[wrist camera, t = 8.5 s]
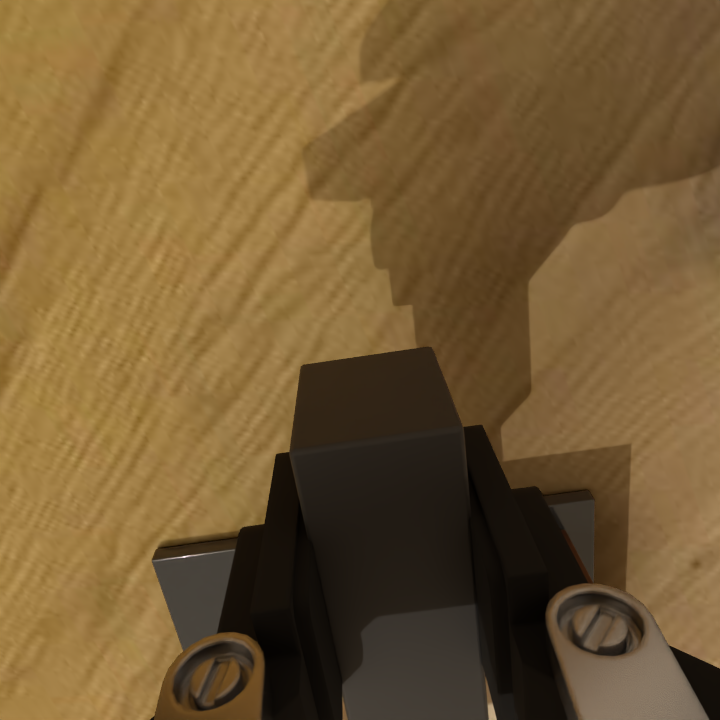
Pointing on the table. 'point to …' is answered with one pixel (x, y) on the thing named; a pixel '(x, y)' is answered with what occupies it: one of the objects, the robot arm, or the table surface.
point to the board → (214, 559)
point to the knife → (391, 534)
